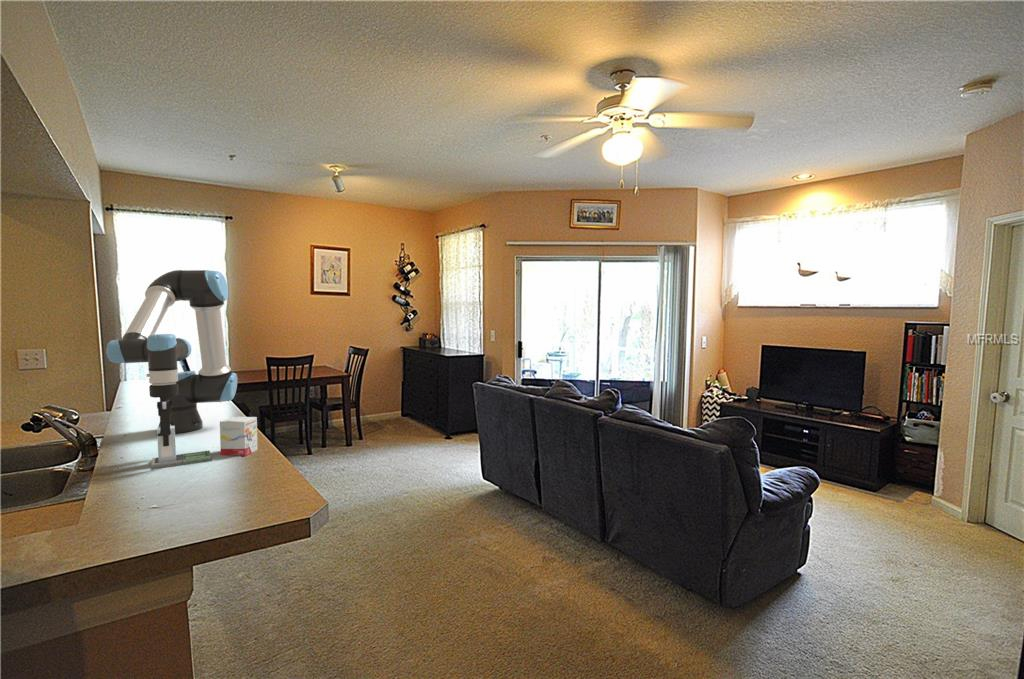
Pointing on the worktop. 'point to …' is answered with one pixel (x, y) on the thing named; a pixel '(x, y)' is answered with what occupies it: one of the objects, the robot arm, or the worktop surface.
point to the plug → (173, 457)
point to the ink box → (238, 436)
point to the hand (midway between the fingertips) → (167, 451)
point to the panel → (183, 460)
